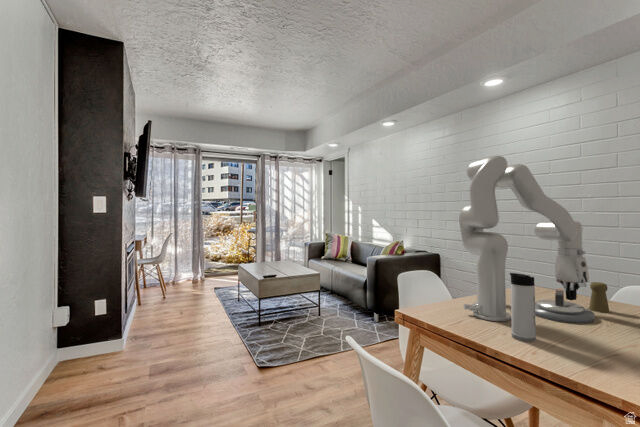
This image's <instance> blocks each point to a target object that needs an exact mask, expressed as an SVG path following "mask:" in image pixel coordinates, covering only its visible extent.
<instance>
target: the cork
mask: <svg viewBox="0 0 640 427" xmlns="http://www.w3.org/2000/svg"><path fill="white" fill-rule="evenodd" d="M589 287H590V290H591V295H590V300H589V301H590V302H589V309H590V311H592V312H596V313H604V314H606V313H607V314H609V313H610V307H609V306H610V305H609V302H608V297H607V296H608V295H607V291H608V285H607V283H605V282H604V283H603V282H600V281H599V282H598V281H594V282H590V284H589Z"/></svg>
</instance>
